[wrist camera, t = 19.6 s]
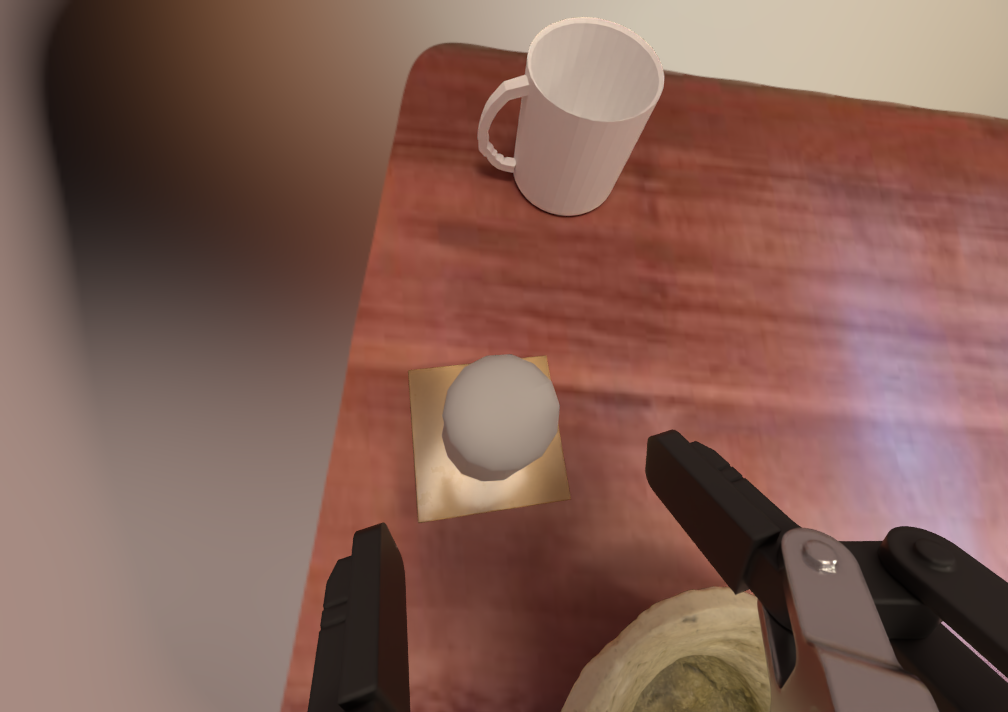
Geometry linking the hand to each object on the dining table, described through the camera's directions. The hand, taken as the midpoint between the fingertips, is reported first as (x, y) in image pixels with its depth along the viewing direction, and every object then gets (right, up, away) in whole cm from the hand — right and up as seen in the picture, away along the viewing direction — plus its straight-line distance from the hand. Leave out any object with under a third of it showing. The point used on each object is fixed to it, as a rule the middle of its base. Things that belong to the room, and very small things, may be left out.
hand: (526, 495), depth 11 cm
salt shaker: (-2, -1, +14) cm, 14 cm away
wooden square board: (-2, -1, +15) cm, 15 cm away
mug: (+3, +20, +22) cm, 30 cm away
